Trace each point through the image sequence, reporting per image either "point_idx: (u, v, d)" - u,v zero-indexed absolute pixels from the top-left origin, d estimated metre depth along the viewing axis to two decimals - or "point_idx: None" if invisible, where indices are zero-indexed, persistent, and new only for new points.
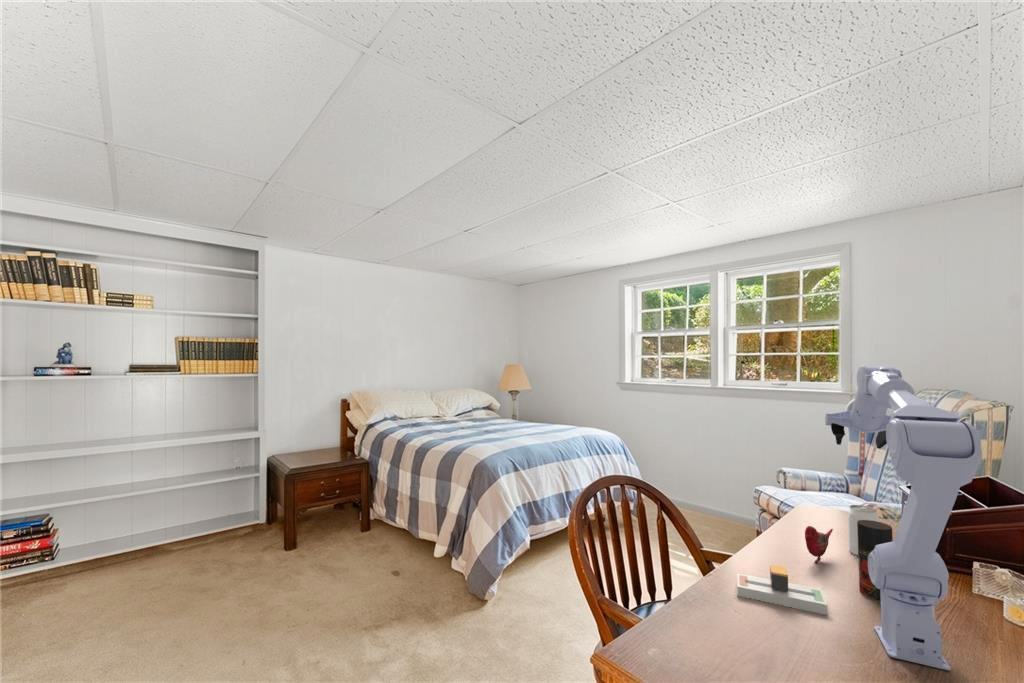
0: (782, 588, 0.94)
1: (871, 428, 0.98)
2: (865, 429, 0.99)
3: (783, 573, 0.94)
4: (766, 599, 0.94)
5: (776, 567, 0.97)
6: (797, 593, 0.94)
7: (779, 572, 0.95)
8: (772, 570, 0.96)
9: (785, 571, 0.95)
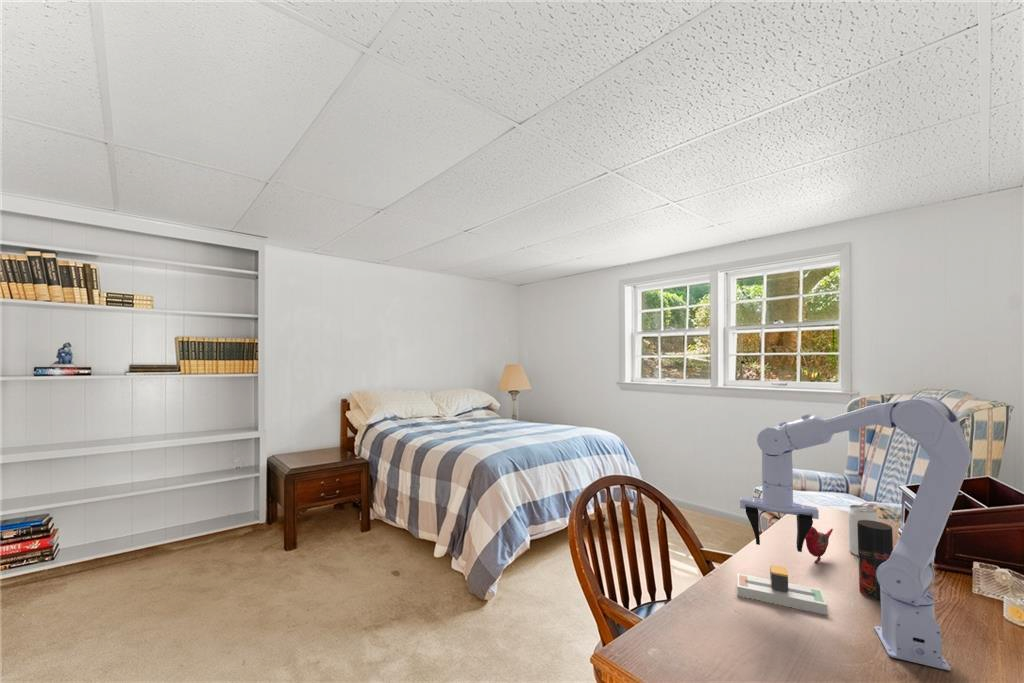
0: (782, 588, 0.94)
1: (781, 504, 0.94)
2: (776, 505, 0.95)
3: (783, 573, 0.94)
4: (766, 599, 0.94)
5: (776, 567, 0.97)
6: (797, 593, 0.94)
7: (779, 572, 0.95)
8: (772, 570, 0.96)
9: (785, 571, 0.95)
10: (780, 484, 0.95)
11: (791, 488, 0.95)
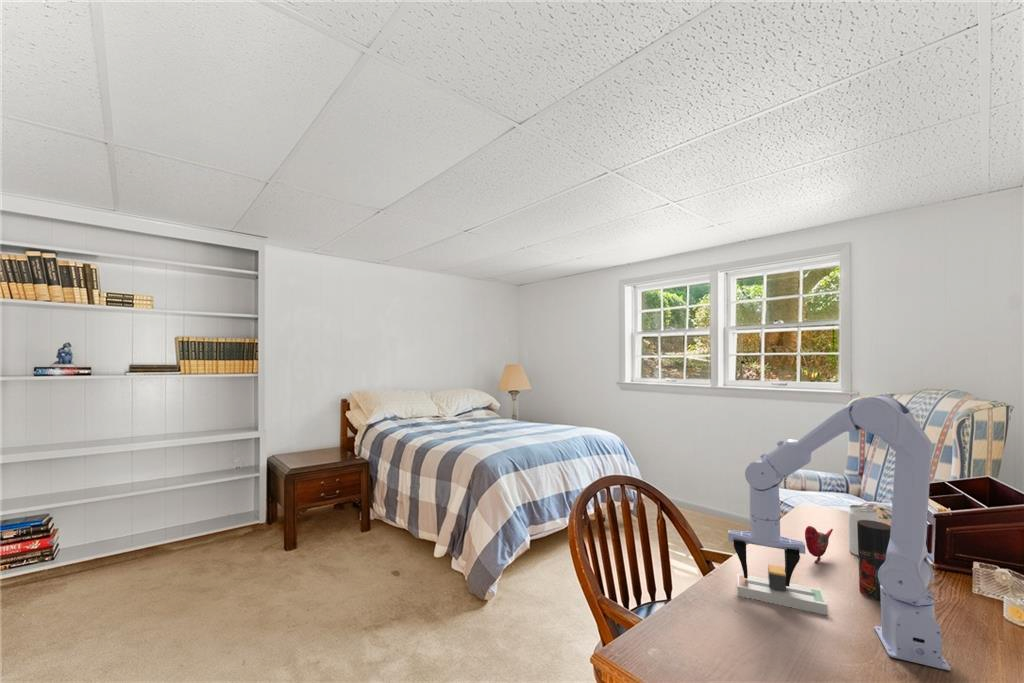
0: (780, 588, 0.94)
1: (768, 538, 0.95)
2: (763, 540, 0.95)
3: (781, 573, 0.95)
4: (766, 599, 0.94)
5: (774, 567, 0.97)
6: (797, 593, 0.94)
7: (777, 572, 0.95)
8: (770, 570, 0.96)
9: (783, 571, 0.96)
10: (768, 519, 0.95)
11: (778, 522, 0.96)
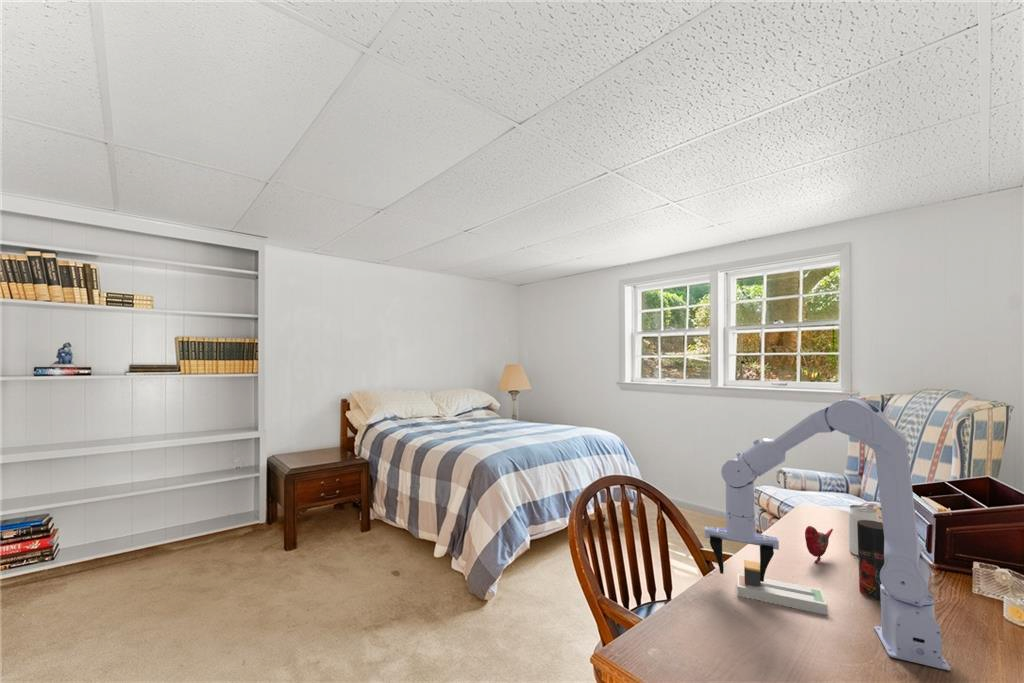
0: (755, 583, 0.96)
1: (743, 534, 0.97)
2: (738, 536, 0.97)
3: (756, 568, 0.97)
4: (766, 599, 0.94)
5: (750, 563, 0.99)
6: (797, 593, 0.94)
7: (752, 567, 0.97)
8: (745, 565, 0.98)
9: (758, 566, 0.98)
10: (743, 515, 0.97)
11: (753, 519, 0.98)
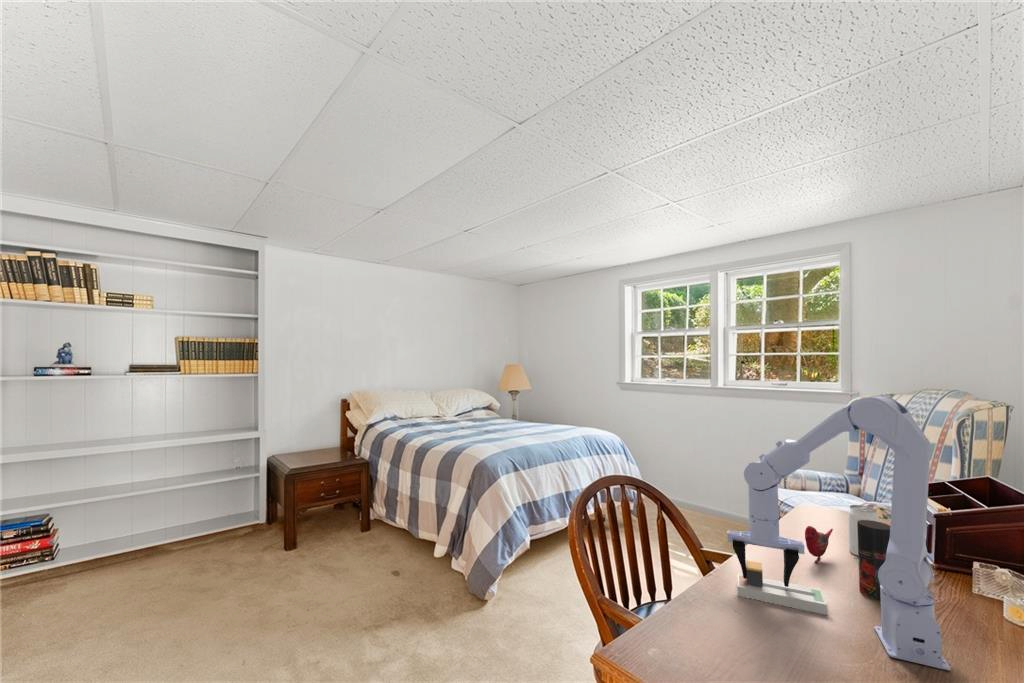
0: (757, 583, 0.96)
1: (767, 539, 0.95)
2: (762, 540, 0.95)
3: (758, 568, 0.97)
4: (766, 599, 0.94)
5: (752, 563, 0.99)
6: (797, 593, 0.94)
7: (754, 567, 0.97)
8: (747, 565, 0.98)
9: (760, 566, 0.97)
10: (767, 519, 0.95)
11: (777, 523, 0.96)
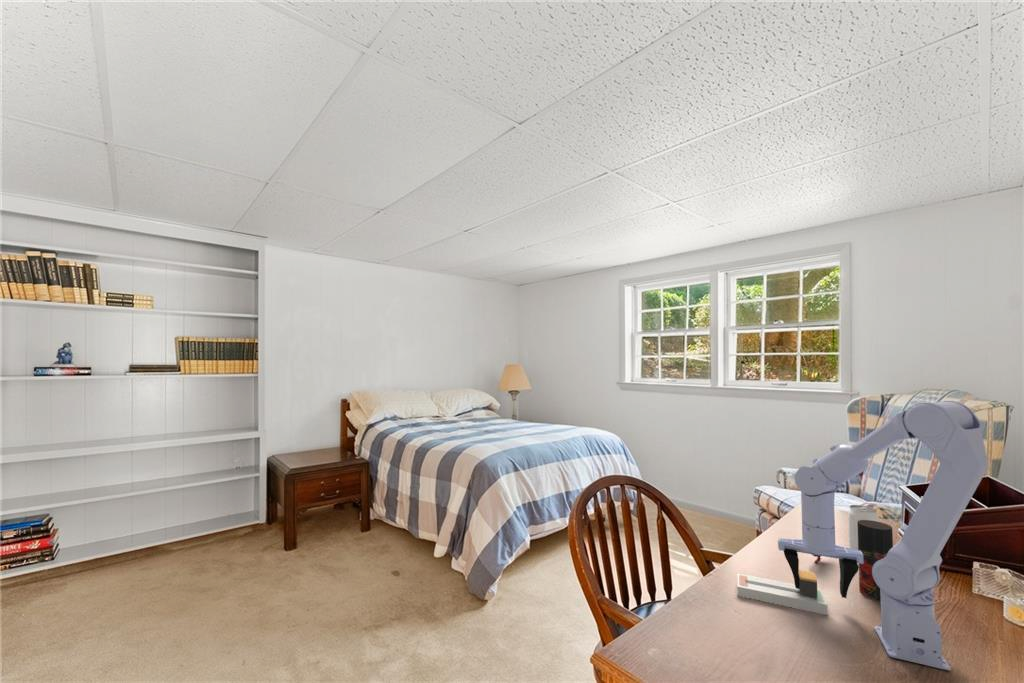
0: (811, 594, 0.92)
1: (824, 547, 0.91)
2: (818, 549, 0.91)
3: (812, 578, 0.92)
4: (766, 599, 0.94)
5: (804, 572, 0.95)
6: (797, 593, 0.94)
7: (808, 577, 0.93)
8: (800, 575, 0.94)
9: (814, 576, 0.93)
10: (819, 526, 0.91)
11: (833, 531, 0.91)
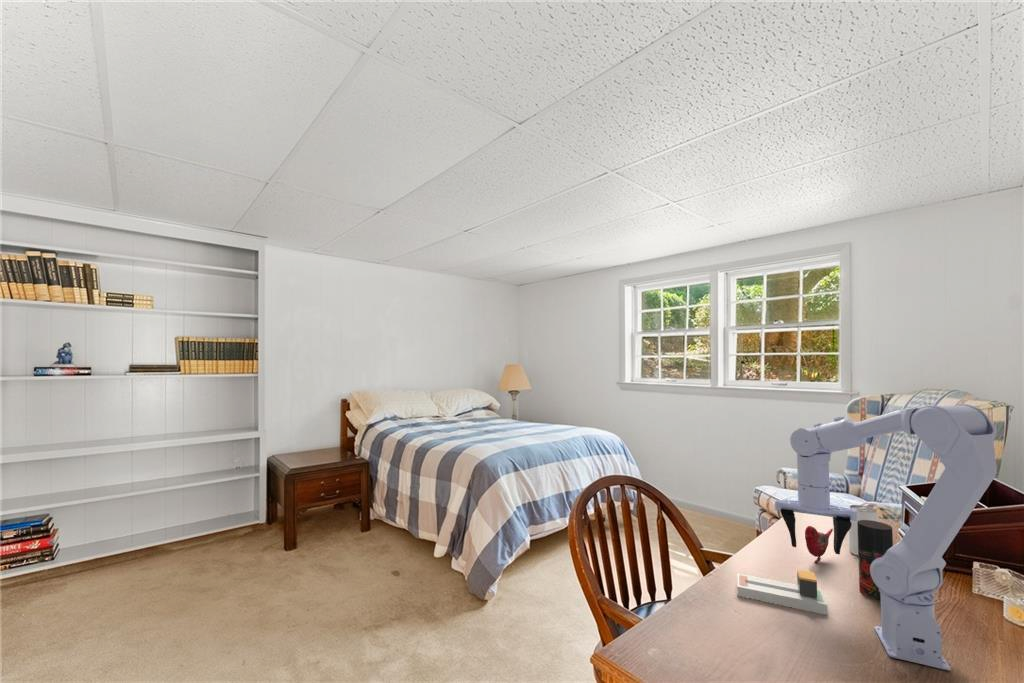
0: (811, 594, 0.92)
1: (819, 506, 0.94)
2: (813, 507, 0.94)
3: (812, 578, 0.92)
4: (766, 599, 0.94)
5: (804, 572, 0.95)
6: (797, 593, 0.94)
7: (807, 577, 0.93)
8: (800, 575, 0.94)
9: (813, 576, 0.93)
10: (812, 485, 0.94)
11: (828, 490, 0.94)
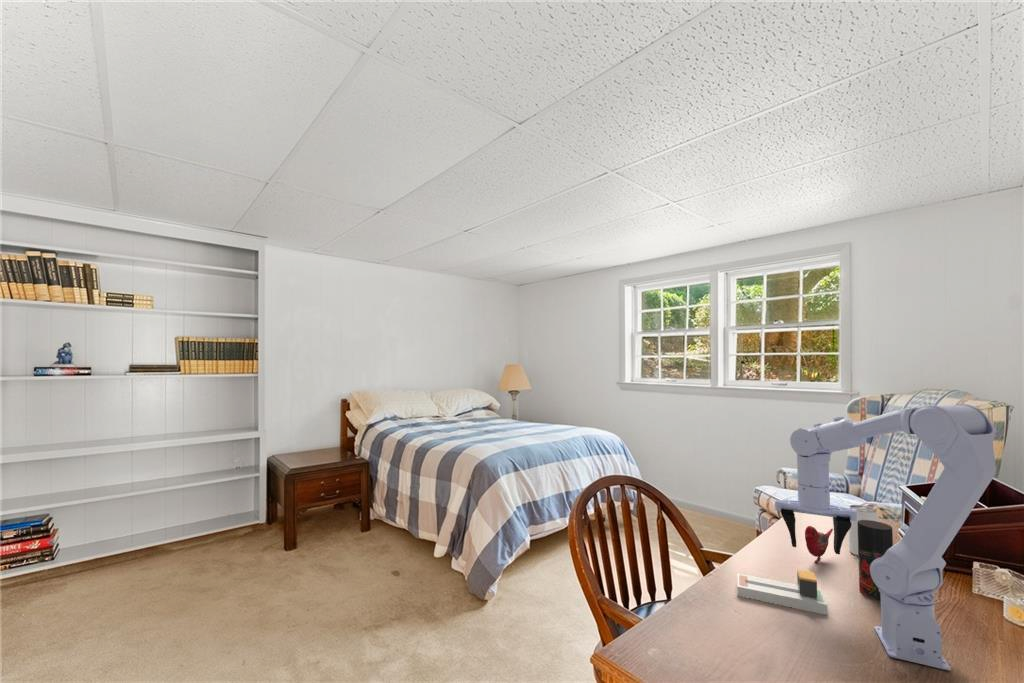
0: (811, 594, 0.92)
1: (818, 506, 0.94)
2: (813, 507, 0.94)
3: (812, 578, 0.92)
4: (766, 599, 0.94)
5: (804, 572, 0.95)
6: (797, 593, 0.94)
7: (807, 577, 0.93)
8: (800, 575, 0.94)
9: (813, 576, 0.93)
10: (812, 485, 0.95)
11: (828, 490, 0.94)
